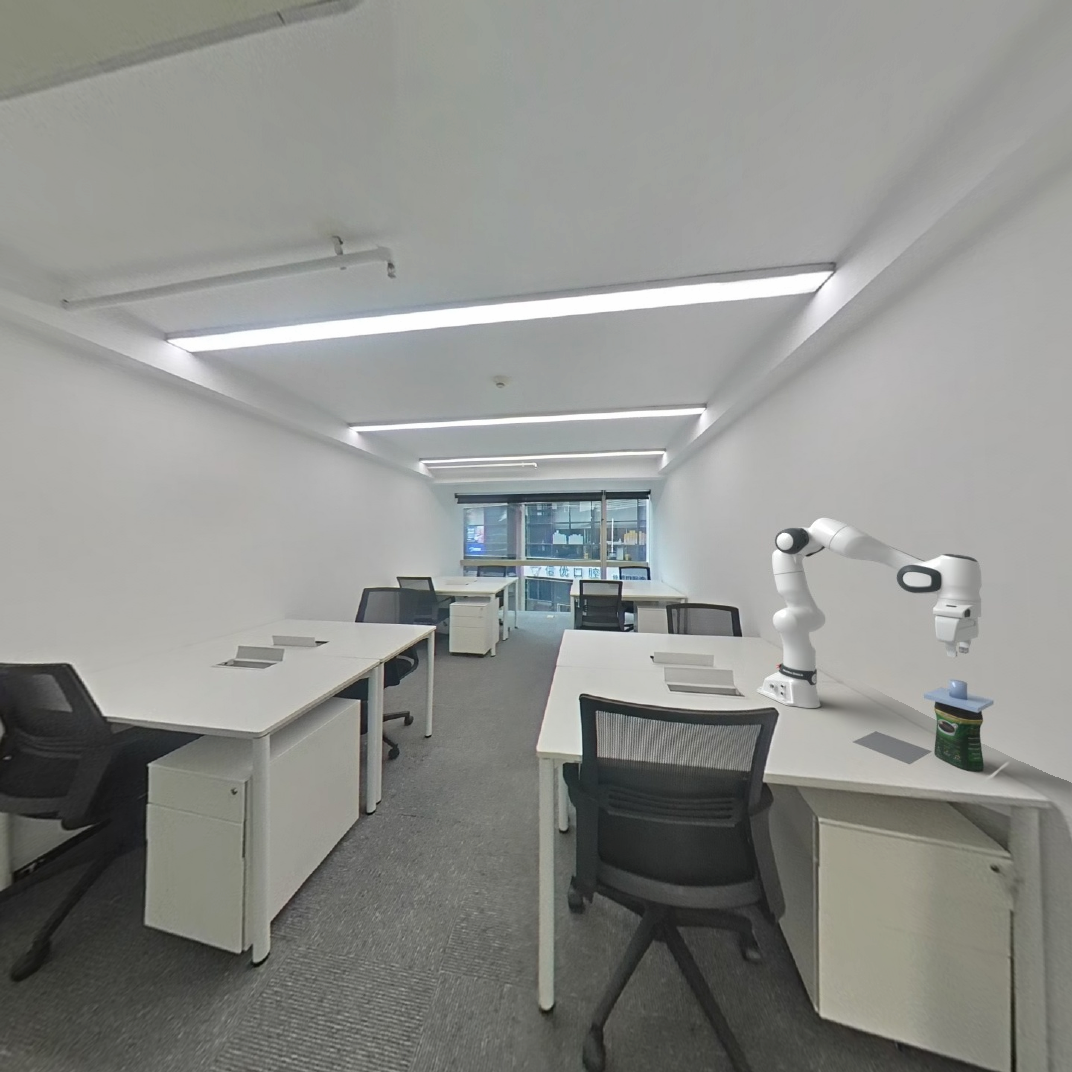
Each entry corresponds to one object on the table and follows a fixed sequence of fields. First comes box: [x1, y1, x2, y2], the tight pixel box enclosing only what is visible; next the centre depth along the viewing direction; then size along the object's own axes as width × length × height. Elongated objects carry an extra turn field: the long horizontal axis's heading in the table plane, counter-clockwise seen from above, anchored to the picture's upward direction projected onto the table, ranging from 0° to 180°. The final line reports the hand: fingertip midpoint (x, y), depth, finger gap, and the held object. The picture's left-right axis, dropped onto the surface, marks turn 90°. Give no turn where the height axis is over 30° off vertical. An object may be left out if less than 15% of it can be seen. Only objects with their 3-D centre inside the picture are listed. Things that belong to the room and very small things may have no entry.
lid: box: [923, 679, 995, 713], centre depth 114 cm, size 11×13×6 cm
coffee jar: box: [933, 701, 984, 772], centre depth 114 cm, size 10×8×19 cm
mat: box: [852, 731, 932, 765], centre depth 122 cm, size 14×16×1 cm
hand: (958, 654), depth 115 cm, fingers open, 8 cm apart
